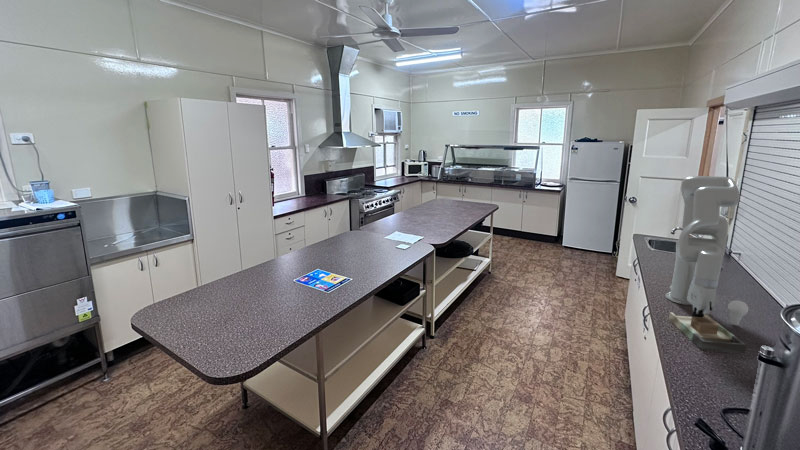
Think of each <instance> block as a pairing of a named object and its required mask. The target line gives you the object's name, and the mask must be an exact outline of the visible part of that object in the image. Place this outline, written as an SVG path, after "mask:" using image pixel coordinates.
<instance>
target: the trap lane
mask: <svg viewBox="0 0 800 450" xmlns="http://www.w3.org/2000/svg"><path fill="white" fill-rule="evenodd" d="M704 318H710V319H711V320H713V321H714V322H715V323H716V324H718V325H719V327H718V332H717V335H716V334H704V333H699V332H697V331H696V330H695V329H694V328H693V327H692V326H691V319H692V316H685V315H684V316H682V315H676V313H674V312H669V315H668V320H669V321H670V322H671V323H672V324H673V325H674V326H675V327H676V328H677V329H678V330H679V331H680V332H681V333H683V334H684V335H685V336H686V337H687V338H688V339H689V341H691V342H692V343H693V344H694V346H696V347H698V349H700V350H701V351H708V352H709V351H710V352H723V353H733V354H746V350H747V347H748V345H747V344H746V343H745V342H744V341H742V340H741V339H740V338H738V337H737V336H735V334H733V333H732V332H730V331H729V330H728V329H726V328H725V327H724V326H722V325H721V324H720V323H718V322H717V321H716V320H715V319H713V318H712V317H711V316H709V315H706V314H705V315H704Z"/></svg>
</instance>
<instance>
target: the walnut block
mask: <svg viewBox="0 0 800 450" xmlns="http://www.w3.org/2000/svg"><path fill="white" fill-rule="evenodd" d="M691 317H692V316H691ZM713 320H714V319H713ZM713 320H711V319H710V318H704V317H692V320H691V326H692V327H693V328H694V329H695V330H696V331H697V332H699V333H704V334H716V335H717V332H718V327H719V325H718V324H716V323H715V322H714V321H713Z"/></svg>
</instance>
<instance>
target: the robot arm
mask: <svg viewBox="0 0 800 450" xmlns="http://www.w3.org/2000/svg"><path fill="white" fill-rule="evenodd" d="M680 190H681V195H682V200H683V203H684V205H683V206H684V207H683V215H682V222H681V223H682V224H681V225H682V231H681V232H680V235H679V239H677V240H676V242H675V262H674V269H673V274H672V280H671V285H669V289H670V291H668V292H666V293H665V298H666V299H667V300H669V301H671V302H673V303H677V304H680V305H686V306H692V314H691V317H704V315H708V316H709V315H710V312H711V311H713V310H714V308H715V304H716V298H717V297H716V295H717V287H718V283H719V279H720V275H721V269H722V265H723V261H724V256H725V255H726V248H727V240H728V231H729V223H728V219H726V218H725V216H722V215H720V210H721V209H720V208H722V207H723V208H724V207H725V208H734V207H736V206H738V204H739V202H740V191H739V187H738V186H737V184H736V183H735V181H734V179H733V178H732V177H730V176H713V175H711V176H708V175H707V176H706V175H696V176H695V175H692V176H687V177H685V178H683V180H682V181H681V187H680ZM690 235H698V236H699V235H700V236H707V237H708V236H709V237H711V238H707V237H706V238H704V237H695V236H690ZM691 320H692V319H691Z"/></svg>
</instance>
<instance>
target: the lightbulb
mask: <svg viewBox="0 0 800 450" xmlns="http://www.w3.org/2000/svg"><path fill="white" fill-rule="evenodd" d="M727 309H728V311H729V314H730V324H731V325H732V326H738V325H740V322H741V320H742V318H743V317H744V316H745V315H746V314H748V311H749V307H748V305H747V304H746V303H745V302H744V301H741V300H731V301H730V302H729V303H728V305H727Z"/></svg>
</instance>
